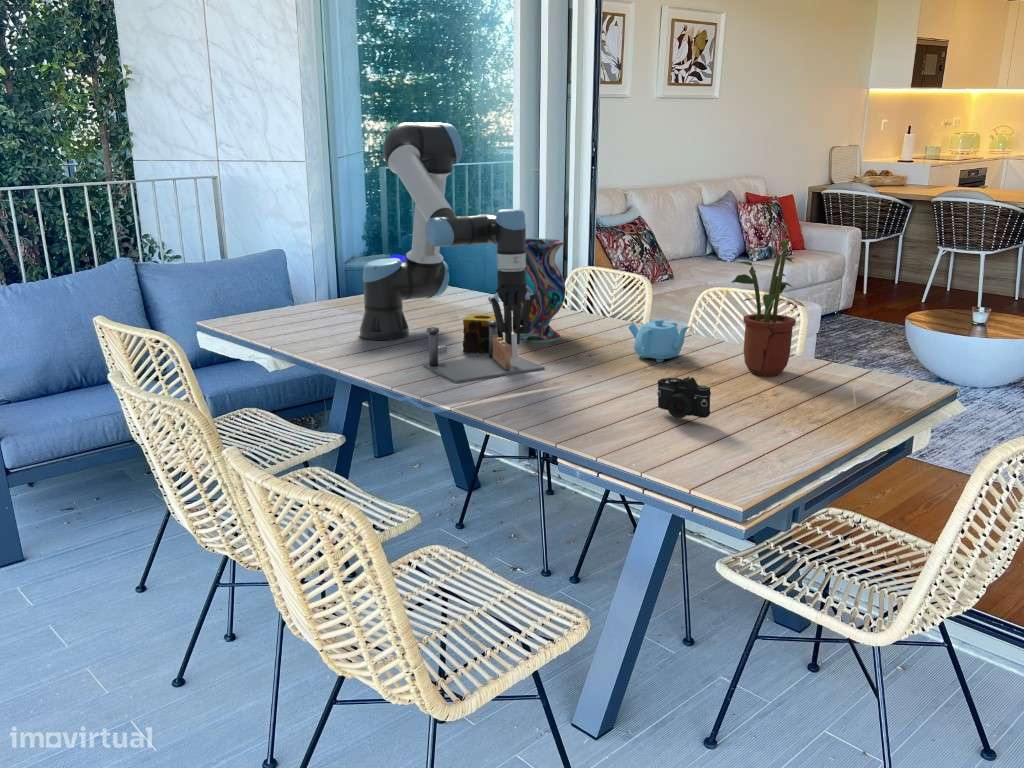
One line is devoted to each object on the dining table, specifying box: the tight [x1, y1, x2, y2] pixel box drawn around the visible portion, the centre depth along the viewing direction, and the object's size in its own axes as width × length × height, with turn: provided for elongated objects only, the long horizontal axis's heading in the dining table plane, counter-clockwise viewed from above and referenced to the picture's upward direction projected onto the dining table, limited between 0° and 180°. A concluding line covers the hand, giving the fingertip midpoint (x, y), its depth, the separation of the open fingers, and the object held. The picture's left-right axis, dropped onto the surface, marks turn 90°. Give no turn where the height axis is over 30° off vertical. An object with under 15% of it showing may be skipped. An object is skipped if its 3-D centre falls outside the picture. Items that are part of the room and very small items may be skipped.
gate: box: [493, 335, 511, 369], centre depth 234 cm, size 13×2×6 cm, turn 16°
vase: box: [512, 237, 566, 344], centre depth 264 cm, size 18×18×30 cm
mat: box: [422, 354, 546, 384], centre depth 234 cm, size 19×27×1 cm
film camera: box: [656, 375, 712, 419], centre depth 193 cm, size 13×8×10 cm, turn 54°
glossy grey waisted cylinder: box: [487, 320, 498, 358], centre depth 242 cm, size 3×3×11 cm
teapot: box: [628, 318, 691, 363], centre depth 243 cm, size 15×14×11 cm
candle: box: [462, 313, 504, 355], centre depth 253 cm, size 10×10×10 cm
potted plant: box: [730, 240, 797, 377], centre depth 224 cm, size 17×16×35 cm
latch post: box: [426, 326, 448, 367], centre depth 234 cm, size 5×6×11 cm
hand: (512, 356), depth 234 cm, fingers closed
